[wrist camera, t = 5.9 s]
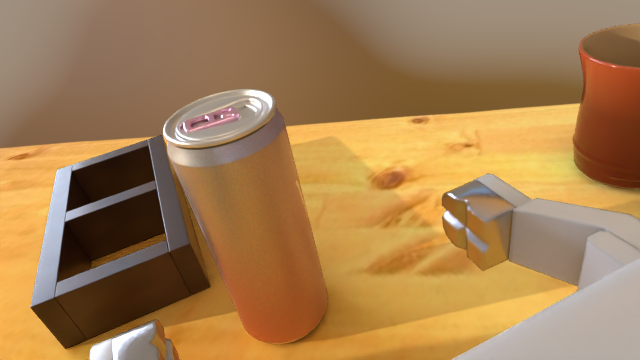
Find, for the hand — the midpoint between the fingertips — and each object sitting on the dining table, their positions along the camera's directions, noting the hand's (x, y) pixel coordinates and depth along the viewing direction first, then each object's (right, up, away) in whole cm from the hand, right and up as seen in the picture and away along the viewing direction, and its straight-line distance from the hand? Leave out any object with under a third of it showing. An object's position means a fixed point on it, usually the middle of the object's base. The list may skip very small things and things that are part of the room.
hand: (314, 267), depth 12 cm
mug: (+25, +2, +23) cm, 34 cm away
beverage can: (-2, -7, +18) cm, 20 cm away
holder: (-17, -3, +28) cm, 33 cm away
